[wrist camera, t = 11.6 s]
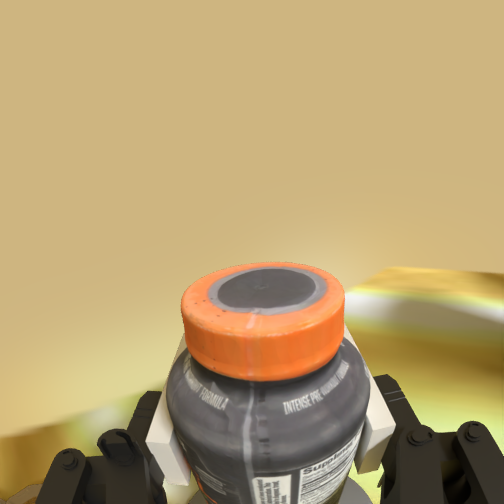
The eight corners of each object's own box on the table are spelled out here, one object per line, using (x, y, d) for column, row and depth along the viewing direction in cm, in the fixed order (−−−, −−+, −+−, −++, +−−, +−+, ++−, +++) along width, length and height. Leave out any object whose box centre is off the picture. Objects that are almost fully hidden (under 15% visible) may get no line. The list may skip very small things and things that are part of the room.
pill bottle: (201, 468, 13) (146, 264, 9) (308, 442, 14) (316, 239, 11) (226, 563, 7) (125, 381, 4) (358, 522, 8) (441, 303, 5)
